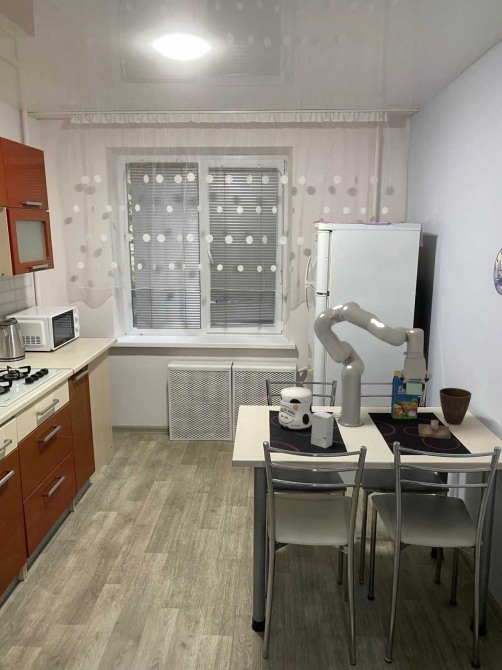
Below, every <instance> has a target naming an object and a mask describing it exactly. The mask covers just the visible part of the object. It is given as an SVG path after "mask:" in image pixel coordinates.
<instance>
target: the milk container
mask: <svg viewBox="0 0 502 670" xmlns="http://www.w3.org/2000/svg"><path fill="white" fill-rule="evenodd" d="M312 398H313V394H312V391H311V390H310V389H308V388H307V387H299V386H290V387H285V388H282V390H281V391H280V409H279V412H278V422H279V424H280V425H281V426H282V427H283V428H285V429H288V430H293V431H294V430H297V431H299V430H305V429H308V428H310V427H312V420H313V413H314V412H313V408H312V405H313V399H312Z"/></svg>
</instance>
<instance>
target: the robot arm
mask: <svg viewBox="0 0 502 670" xmlns="http://www.w3.org/2000/svg"><path fill="white" fill-rule="evenodd" d="M342 322H348V323H350V324H352V325H354V326H356V327H357V328H358V327H359V328H360V329H363V330H365V331H366V332H368V333H369V334H371V335H372V336H373V337H375V338H377V339H378V340H380V341H382V342H384V343H387V344H389V345H391V346H393V347H400V346H402V345H403V344H404V343H406V351H403V352H402V353H403V356H405V357H404V360H403V369H401V370H399V371H400V372H399V373H397V376H398V377H399V378H400V380H401V381H402V382H403V383H404V389H405V391H406V381H407V379H418V380H420V381H422V393H423V392H424V391H425V390H426V383H428V382H429V381H430V380H431V378H433V374H432V373H431V372H429V371H428V370H427V364H426V358H425V357H424V342H425V341H424V338H425V336H424V335H425V332H424V330H423V329H422V328H418V327H417V328H416V327H415V328H413V327H412V328H408V327H402V326H397V327H394V328H393V327H390V326H389V325H387V324H385V323H384V322H382V321H381V320H380V318H379V317H378V316H377V315H376V314H374V313H371V311H370V312H369V311H367V310H366V309H364V308H361V306H360V305H359V304H358V303H357V302H354V301H349V302H345V303H343V304H340V305H336V306H333V307H330V308H327V309H325V310H323V311H321V312H320V313H319V314H318V315H317V317H316V318H315V321H314V324H313V331H314V334H315V336H316V337H317V339H318V341H319V342H320V343H321V345H322V346H323V348H324V349H325V352H327V353H328V355H329V356H330V358H331V360H332V361H333V362H334V363H336V364H342V365H343V366H342V369H341V373H340V374H341V375H340V376H341V377H340V378H341V406H340V407H341V408H340V409H341V410H340V412H339V413H337V412H332V415H334V419H337V423H338V424H339V425H341V426H343V427H349V428H354V427H355V428H356V427H360V426H363V424H364V420H363V419H362V418H361V406H362V405H361V404H362V401H361V400H362V399H361V398H362V376H363V374H364V372H365V369H366V367H365V363H364V361H363V360H362V358H361V357H360V355H359V354H358V352H357V351H356V350H355V348H354V347H353V345H351V344H350V343H349V342H348V341H345V340H341V339H340V338H339V337H338V335H337V334H336V332H334V330H332V327H333V326H335V324H339V323H342ZM402 373H403V376H404V378H403V377H402V376H401V374H402ZM426 376H427V377H426Z"/></svg>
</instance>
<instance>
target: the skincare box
mask: <svg viewBox="0 0 502 670" xmlns="http://www.w3.org/2000/svg"><path fill="white" fill-rule="evenodd" d="M334 421H335V418H334V415H333V413H329V412H325V411H322V410H318V411H315V412H313V420H312V425H311V438H310V444H311V445H315V446H317V447H321V448H323V449H327V448H329V447H331V446H332V445H333V436H334V433H333V432H334V423H335V422H334Z"/></svg>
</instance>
